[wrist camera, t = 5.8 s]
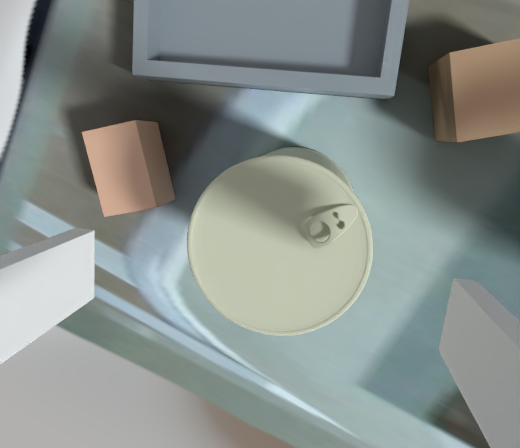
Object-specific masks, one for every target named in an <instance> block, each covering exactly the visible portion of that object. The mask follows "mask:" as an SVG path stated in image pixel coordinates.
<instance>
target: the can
mask: <svg viewBox="0 0 520 448" xmlns="http://www.w3.org/2000/svg"><path fill="white" fill-rule="evenodd" d="M187 251H188V259H189V264H190V267H191V270H192V273H193V276H194V278H195V280H196V283H197V285H198V286H199V288H200V290H201V291H202V293H203V294H204V296H205V297H206V298H207V300H208V301H209V302H210V303H211V304H212V305H213V306H214V308H215V309H217V310H218V311H219V312H220V313H221V314H222V315H224V316H225V317H226V318H228V319H229V320H231V321H232V322H234V323H236V324H237V325H240V326H242V327H244V328H246V329H249V330H252V331H255V332H258V333H262V334H268V335H276V336H288V335H298V334H303V333H307V332H311V331H314V330H316V329H319V328H321V327H323V326H325V325H327V324H329V323H331V322H332V321H334V320H335V319H337V318H338V317H339V316H341V315H342V314H343V313H344V312H345V311H346V310H347V309H349V307H350V306H351V305H352V304H353V303H354V302H355V300H356V299H357V297H358V296H359V294H360V293H361V291H362V289H363V287H364V285H365V283H366V281H367V278H368V275H369V273H370V269H371V264H372V257H373V238H372V232H371V227H370V223H369V220H368V217H367V215H366V212H365V210H364V208H363V206H362V204H361V202H360V200H359V199H358V197H357V196H356V194H355V193H354V191H353V188H352V186H351V183H350V181H349V179H348V178H347V176H346V174H345V173H344V172H343V171H342V169H341V168H340V167H339V166H338V165H337V164H336V163H335V162H334V161H332V160H331V159H330V158H328V157H327V156H325V155H323V154H321V153H319V152H317V151H314V150H311V149H307V148H301V147H288V148H281V149H277V150H274V151H271V152H269V153H266V154H265V155H263V156H259V157H254V158H251V159H248V160H245V161H243V162H240V163H238V164H236V165H234V166H232V167H230V168H228V169H227V170H225V171H224V172H222V173H221V174H220V175H219V176H218V177H216V178H215V179H214V180H213V181H212V182H211V183H210V184H209V185H208V187H207V188H206V189H205V190H204V192H203V193H202V195H201V196H200V198H199V199H198V201H197V203H196V205H195V207H194V210H193V212H192V215H191V218H190V222H189V227H188V233H187Z"/></svg>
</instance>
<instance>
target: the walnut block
mask: <svg viewBox="0 0 520 448" xmlns="http://www.w3.org/2000/svg"><path fill="white" fill-rule="evenodd" d="M428 72H429V83H430V94H431V104H432V115H433V125H434V136H435V141H439V142H463V141H469V140H475V139H482V138H488V137H494V136H500V135H506V134H512V133H518V132H520V38H519V39H514V40H509V41H504V42H499V43H494V44H489V45H484V46H479V47H474V48H470V49H465V50H460V51H455V52H450V53H448V54H447V55H445V56H443V57H442V58H440V59H439V60H437V61H436V62H434V63H433V64H431V65H430V66H428Z"/></svg>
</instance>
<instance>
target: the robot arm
mask: <svg viewBox="0 0 520 448" xmlns="http://www.w3.org/2000/svg"><path fill="white" fill-rule="evenodd" d="M93 298H94V230H87V229H80V228H74V229H72V230H69V231H66V232H64V233H61V234H58V235H56V236H53V237H50V238H48V239H45V240H42V241H39V242H37V243H34V244H31V245H29V246H26V247H23V248H21V249H18V250H15V251H13V252H10V253H7V254H5V255H2V256H0V364H1V363H3V362H4V361H6V360H7V359H8V358H10V357H11V356H12V355H14V354H15V353H17V352H18V351H20V350H21V349H23V348H24V347H25V346H27V345H28V344H30V343H31V342H33V341H34V340H35V339H37V338H38V337H40V336H41V335H42V334H44V333H45V332H47V331H48V330H49V329H51V328H52V327H54V326H55V325H57V324H58V323H59V322H61V321H62V320H64V319H65V318H66V317H68V316H69V315H71V314H72V313H73V312H75V311H76V310H78V309H79V308H81V307H82V306H83V305H85V304H86V303H88V302H89V301H90V300H92V299H93ZM438 351H439V353H440V355H441V357H442V358H443V360H444V362H445V364H446V366H447V368H448V370H449V371H450V373H451V375H452V377H453V379H454V381H455V383H456V384H457V386H458V388H459V390H460V392H461V394H462V396H463V397H464V399H465V401H466V403H467V405H468V407H469V409H470V410H471V412H472V414H473V416H474V418H475V420H476V422H477V423H478V425H479V427H480V429H481V431H482V433H483V435H484V436H485V438H486V440H487V442H488V444H489V446H490V448H520V321H519V320H518V319H517V318H516V317H515V316H514V315H513V314H512V313H510V312H509V311H508V310H507V309H506V308H505V307H504V306H503V305H502V304H501V303H500V302H499V301H498V300H497V299H496V298H495V297H493V296H492V295H491V294H490V293H489V292H488V291H487V290H486V289H485V288H484V287H483V286H482V285H481V284H480V283H479V282H478V281H473V280H465V279H458V278H453V283H452V288H451V293H450V297H449V302H448V307H447V312H446V317H445V321H444V326H443V331H442V336H441V341H440V346H439V350H438Z"/></svg>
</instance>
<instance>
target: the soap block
mask: <svg viewBox="0 0 520 448" xmlns="http://www.w3.org/2000/svg"><path fill="white" fill-rule="evenodd" d="M82 135H83V139H84V143H85V146H86V150H87V154H88V158H89V161H90V165H91V169H92V173H93V176H94V180H95V184H96V188H97V191H98V195H99V199H100V203H101V206H102V210H103V214H104V217H107V216H112V215H118V214H123V213H129V212H134V211H140V210H145V209H151V208H156V207H159V206H161V205H164V204H166V203H168V202H171V201H173V200H175V195H174V190H173V186H172V182H171V178H170V173H169V169H168V165H167V161H166V156H165V152H164V148H163V143H162V139H161V135H160V131H159V126H158V122H151V121H140V120H133V121H129V122H124V123H120V124H116V125H111V126H107V127H102V128H98V129H93V130H89V131H84V132H82Z"/></svg>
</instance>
